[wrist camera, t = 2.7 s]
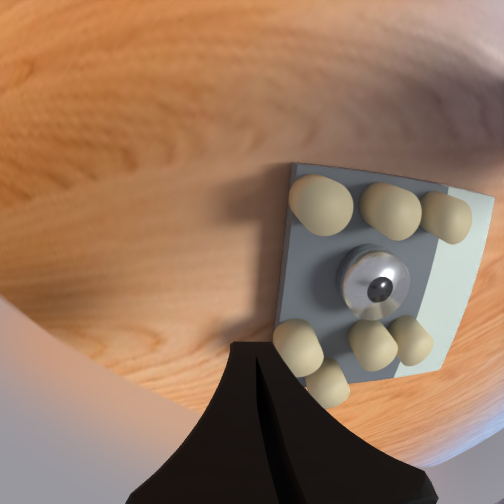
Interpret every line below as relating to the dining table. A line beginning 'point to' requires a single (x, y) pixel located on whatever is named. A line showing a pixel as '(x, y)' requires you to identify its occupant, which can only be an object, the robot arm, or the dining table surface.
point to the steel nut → (372, 281)
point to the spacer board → (396, 241)
